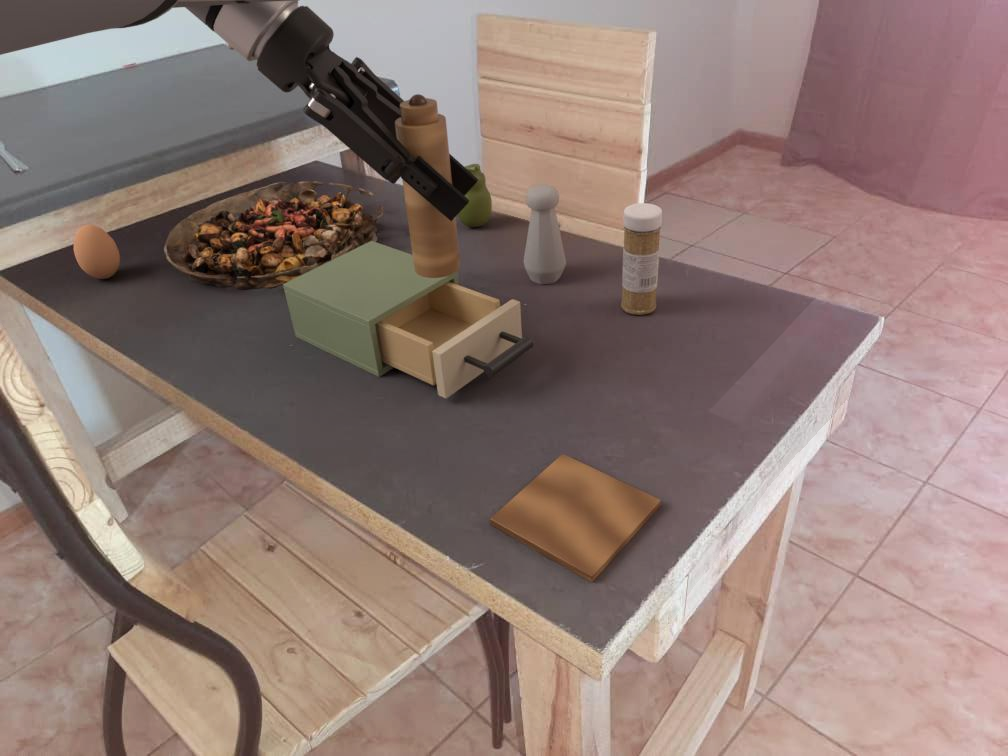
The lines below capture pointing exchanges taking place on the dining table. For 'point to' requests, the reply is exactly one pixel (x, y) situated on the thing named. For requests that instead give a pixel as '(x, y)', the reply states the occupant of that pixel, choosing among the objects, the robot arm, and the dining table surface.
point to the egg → (96, 252)
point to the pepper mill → (427, 225)
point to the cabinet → (356, 301)
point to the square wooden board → (576, 516)
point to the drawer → (452, 337)
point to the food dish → (268, 235)
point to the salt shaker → (543, 236)
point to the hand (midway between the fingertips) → (464, 199)
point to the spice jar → (640, 257)
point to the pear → (476, 201)
